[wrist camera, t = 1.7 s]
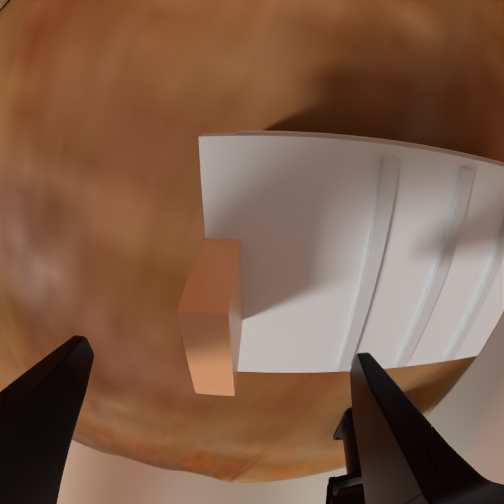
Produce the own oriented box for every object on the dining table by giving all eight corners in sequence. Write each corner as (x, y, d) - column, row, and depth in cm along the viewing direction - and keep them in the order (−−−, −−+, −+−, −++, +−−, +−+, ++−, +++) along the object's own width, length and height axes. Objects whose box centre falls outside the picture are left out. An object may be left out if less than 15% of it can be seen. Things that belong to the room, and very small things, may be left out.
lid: (470, 342, 16) (500, 403, 11) (220, 353, 16) (207, 436, 12) (536, 172, 10) (605, 218, 5) (202, 131, 11) (154, 170, 6)
